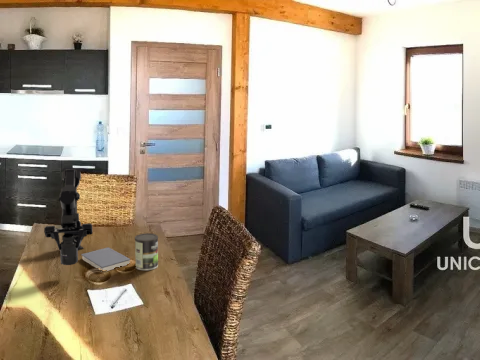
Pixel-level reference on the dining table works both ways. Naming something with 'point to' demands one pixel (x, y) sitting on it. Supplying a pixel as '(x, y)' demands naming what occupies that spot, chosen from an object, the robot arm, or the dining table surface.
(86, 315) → the dining table surface
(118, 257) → the book
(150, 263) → the coffee can
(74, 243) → the supplement bottle
